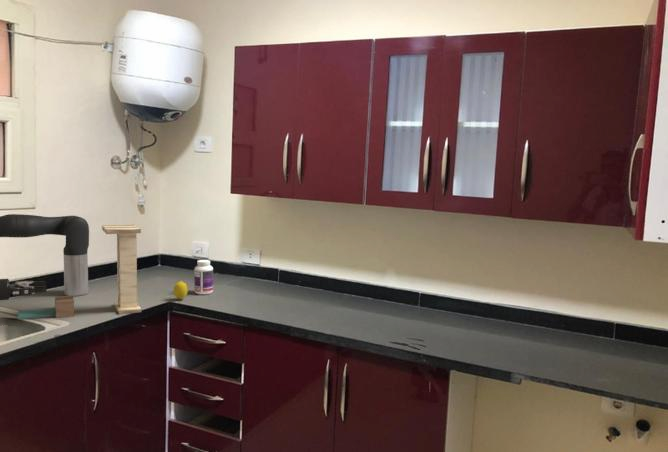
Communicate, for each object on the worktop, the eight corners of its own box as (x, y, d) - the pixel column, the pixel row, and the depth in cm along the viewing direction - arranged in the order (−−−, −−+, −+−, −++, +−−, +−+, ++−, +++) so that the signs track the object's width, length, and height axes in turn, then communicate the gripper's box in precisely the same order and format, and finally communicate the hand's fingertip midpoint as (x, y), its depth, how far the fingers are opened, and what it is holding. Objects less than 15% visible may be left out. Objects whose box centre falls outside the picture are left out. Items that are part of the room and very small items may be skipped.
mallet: (18, 315, 202) (17, 299, 201) (72, 310, 211) (72, 295, 210) (18, 321, 195) (17, 304, 194) (74, 316, 204) (74, 300, 203)
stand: (103, 305, 219) (101, 225, 215) (135, 302, 225) (134, 224, 221) (107, 315, 206) (106, 230, 202) (141, 312, 212) (140, 229, 208)
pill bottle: (214, 291, 249) (214, 259, 247) (211, 295, 241) (211, 262, 239) (196, 290, 249) (196, 259, 247) (192, 295, 241) (192, 262, 239)
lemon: (183, 301, 229) (183, 282, 228) (171, 300, 230) (171, 281, 229) (189, 298, 234) (189, 280, 233) (177, 297, 235) (177, 279, 234)
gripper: (-5, 296, 201) (45, 292, 208) (-8, 305, 188) (46, 301, 196) (-6, 275, 200) (45, 272, 207) (-9, 283, 187) (46, 280, 195)
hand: (45, 286), depth 202 cm, fingers open, 8 cm apart
